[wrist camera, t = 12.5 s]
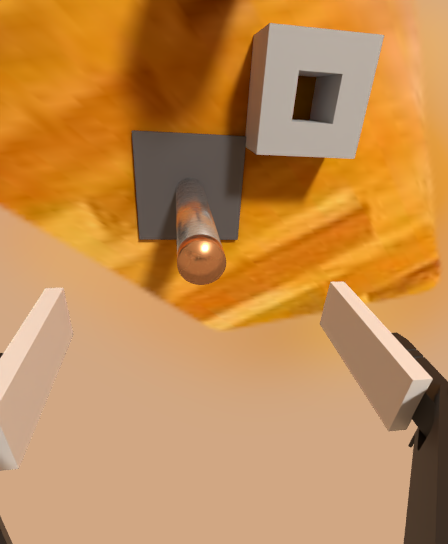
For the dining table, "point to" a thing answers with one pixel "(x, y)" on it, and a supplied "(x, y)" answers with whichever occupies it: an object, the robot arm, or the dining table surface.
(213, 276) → the peg
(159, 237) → the mat
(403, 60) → the dining table surface
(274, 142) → the eye block
